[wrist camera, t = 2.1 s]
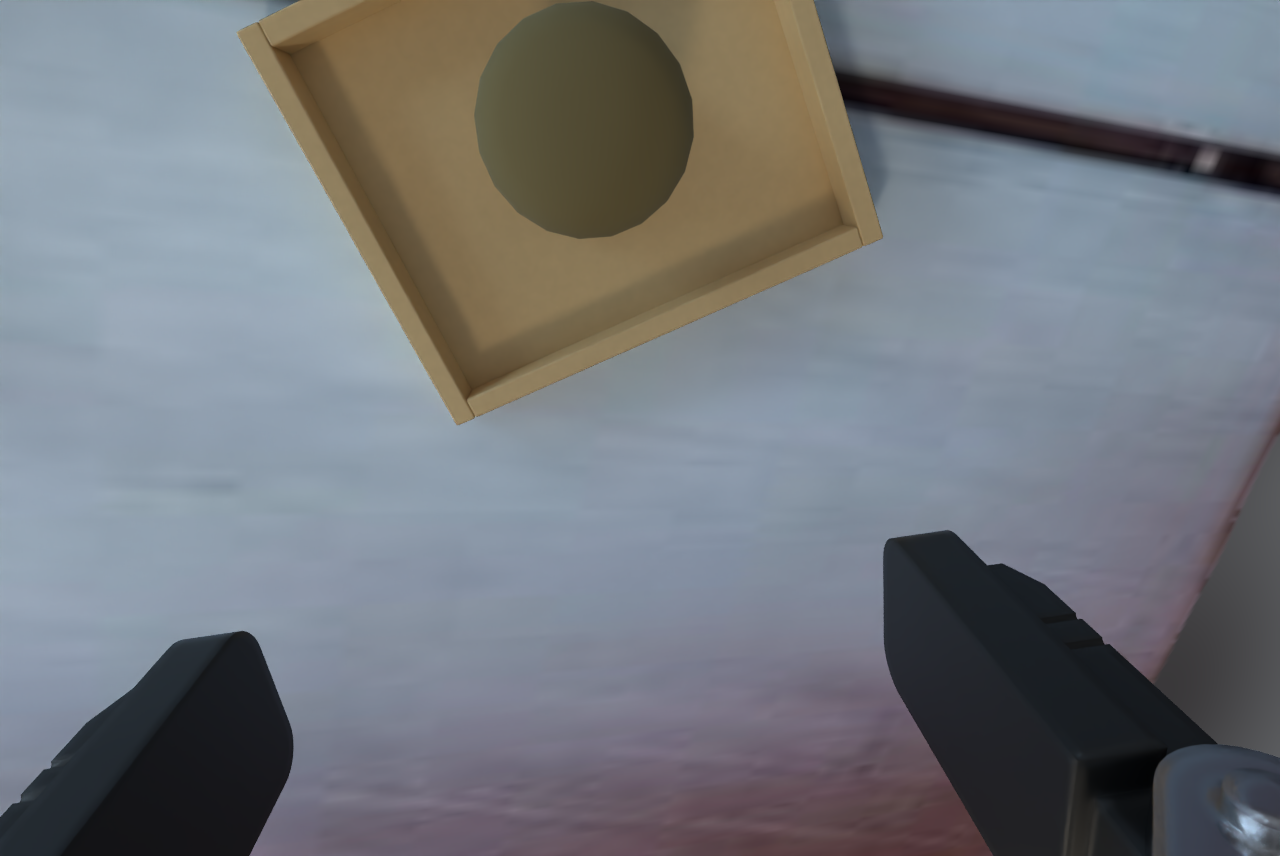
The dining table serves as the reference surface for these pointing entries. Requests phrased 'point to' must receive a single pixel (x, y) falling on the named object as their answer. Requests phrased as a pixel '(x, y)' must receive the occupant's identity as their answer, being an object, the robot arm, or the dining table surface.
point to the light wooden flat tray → (523, 251)
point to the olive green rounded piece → (584, 119)
